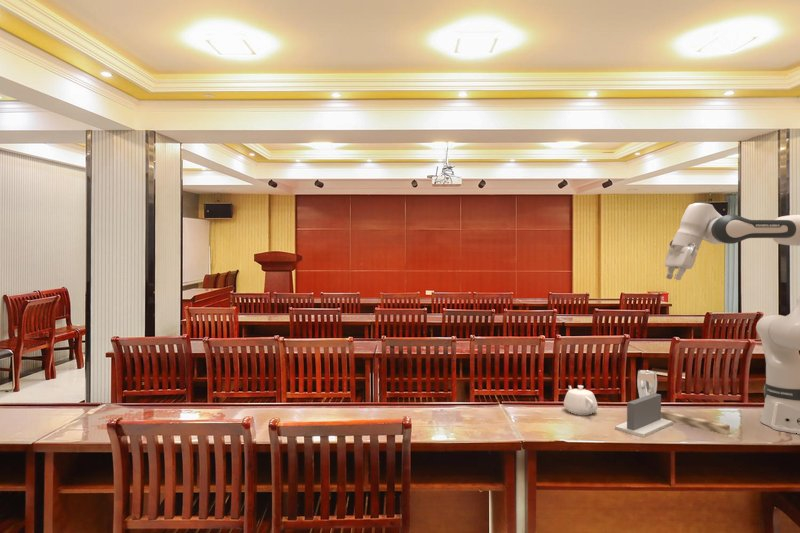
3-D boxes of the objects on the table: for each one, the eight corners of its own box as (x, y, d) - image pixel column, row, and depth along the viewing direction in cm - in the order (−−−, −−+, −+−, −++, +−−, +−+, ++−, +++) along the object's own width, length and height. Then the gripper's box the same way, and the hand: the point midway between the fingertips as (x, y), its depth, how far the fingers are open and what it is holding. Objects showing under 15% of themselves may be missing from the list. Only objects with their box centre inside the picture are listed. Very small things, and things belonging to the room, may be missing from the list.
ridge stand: (673, 424, 177) (673, 396, 177) (643, 437, 163) (643, 407, 163) (644, 417, 185) (645, 390, 185) (614, 429, 171) (615, 400, 171)
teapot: (554, 404, 201) (554, 379, 201) (583, 403, 202) (583, 379, 202) (576, 420, 181) (576, 392, 181) (608, 419, 182) (608, 391, 182)
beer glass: (660, 412, 190) (660, 373, 190) (642, 412, 191) (642, 373, 190) (651, 407, 197) (651, 370, 197) (633, 407, 198) (634, 369, 197)
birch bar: (729, 434, 168) (729, 425, 168) (726, 436, 166) (726, 427, 166) (656, 416, 186) (656, 408, 186) (653, 418, 184) (653, 410, 184)
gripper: (706, 245, 172) (691, 283, 173) (685, 247, 192) (672, 281, 193) (687, 240, 173) (673, 277, 174) (668, 242, 193) (655, 275, 194)
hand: (672, 279), depth 183 cm, fingers open, 8 cm apart
